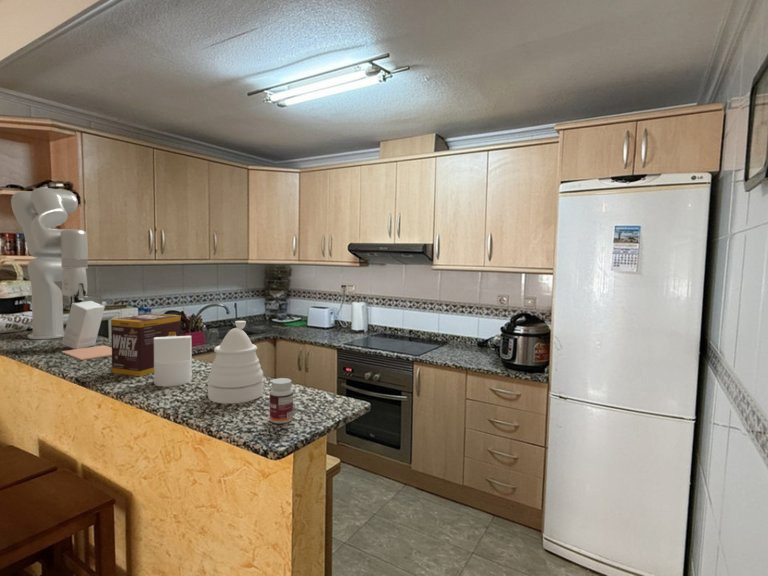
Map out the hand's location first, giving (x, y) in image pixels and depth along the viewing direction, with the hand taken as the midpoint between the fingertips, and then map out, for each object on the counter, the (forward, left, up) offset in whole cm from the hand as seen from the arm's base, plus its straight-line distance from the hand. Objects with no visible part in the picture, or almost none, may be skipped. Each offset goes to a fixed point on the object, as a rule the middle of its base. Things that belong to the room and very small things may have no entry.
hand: (76, 315), depth 148 cm
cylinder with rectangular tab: (+65, 0, -12) cm, 67 cm away
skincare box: (+2, 0, -11) cm, 11 cm away
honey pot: (+87, +4, -12) cm, 88 cm away
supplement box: (+47, +2, -12) cm, 49 cm away
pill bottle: (+108, 0, -12) cm, 109 cm away
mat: (+14, 0, -11) cm, 18 cm away
